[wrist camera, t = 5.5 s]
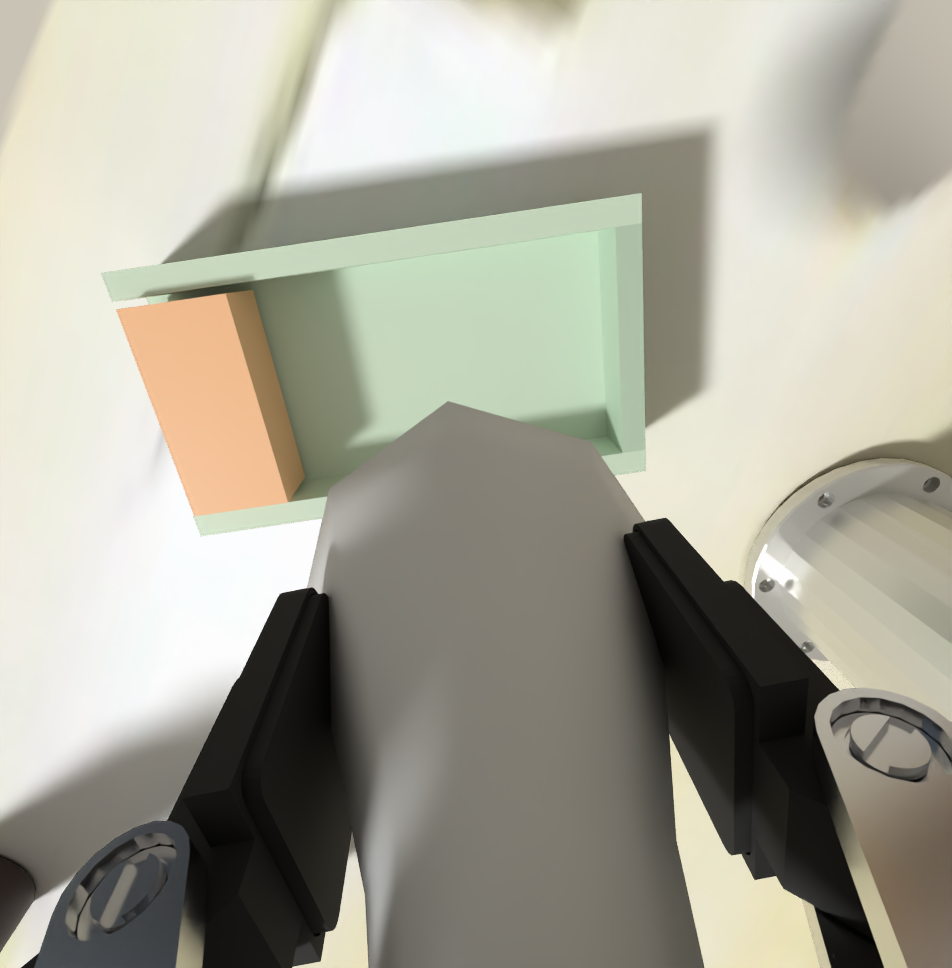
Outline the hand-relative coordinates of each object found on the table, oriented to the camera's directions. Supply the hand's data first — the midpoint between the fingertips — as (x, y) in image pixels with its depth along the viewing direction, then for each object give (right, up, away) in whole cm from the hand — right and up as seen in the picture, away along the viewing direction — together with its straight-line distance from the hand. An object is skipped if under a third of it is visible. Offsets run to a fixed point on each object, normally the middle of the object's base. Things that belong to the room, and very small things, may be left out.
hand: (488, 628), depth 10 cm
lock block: (-11, +6, +14) cm, 19 cm away
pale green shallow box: (-4, +8, +15) cm, 18 cm away
